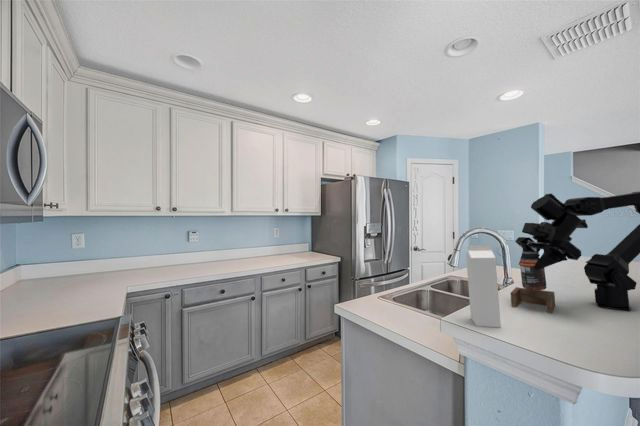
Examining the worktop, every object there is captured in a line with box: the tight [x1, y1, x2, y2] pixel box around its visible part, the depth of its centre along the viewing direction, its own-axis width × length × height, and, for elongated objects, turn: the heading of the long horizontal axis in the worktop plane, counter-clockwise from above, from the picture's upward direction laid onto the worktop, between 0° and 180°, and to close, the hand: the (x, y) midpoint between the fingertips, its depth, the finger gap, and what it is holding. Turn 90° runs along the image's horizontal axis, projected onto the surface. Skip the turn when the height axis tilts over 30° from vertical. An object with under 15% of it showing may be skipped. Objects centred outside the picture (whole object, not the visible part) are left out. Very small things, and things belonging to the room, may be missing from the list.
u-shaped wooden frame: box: [510, 286, 556, 314], centre depth 83 cm, size 10×9×4 cm
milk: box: [465, 244, 502, 328], centre depth 73 cm, size 6×6×22 cm
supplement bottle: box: [519, 251, 548, 291], centre depth 81 cm, size 6×6×11 cm
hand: (527, 267), depth 81 cm, fingers closed on supplement bottle, 6 cm apart
